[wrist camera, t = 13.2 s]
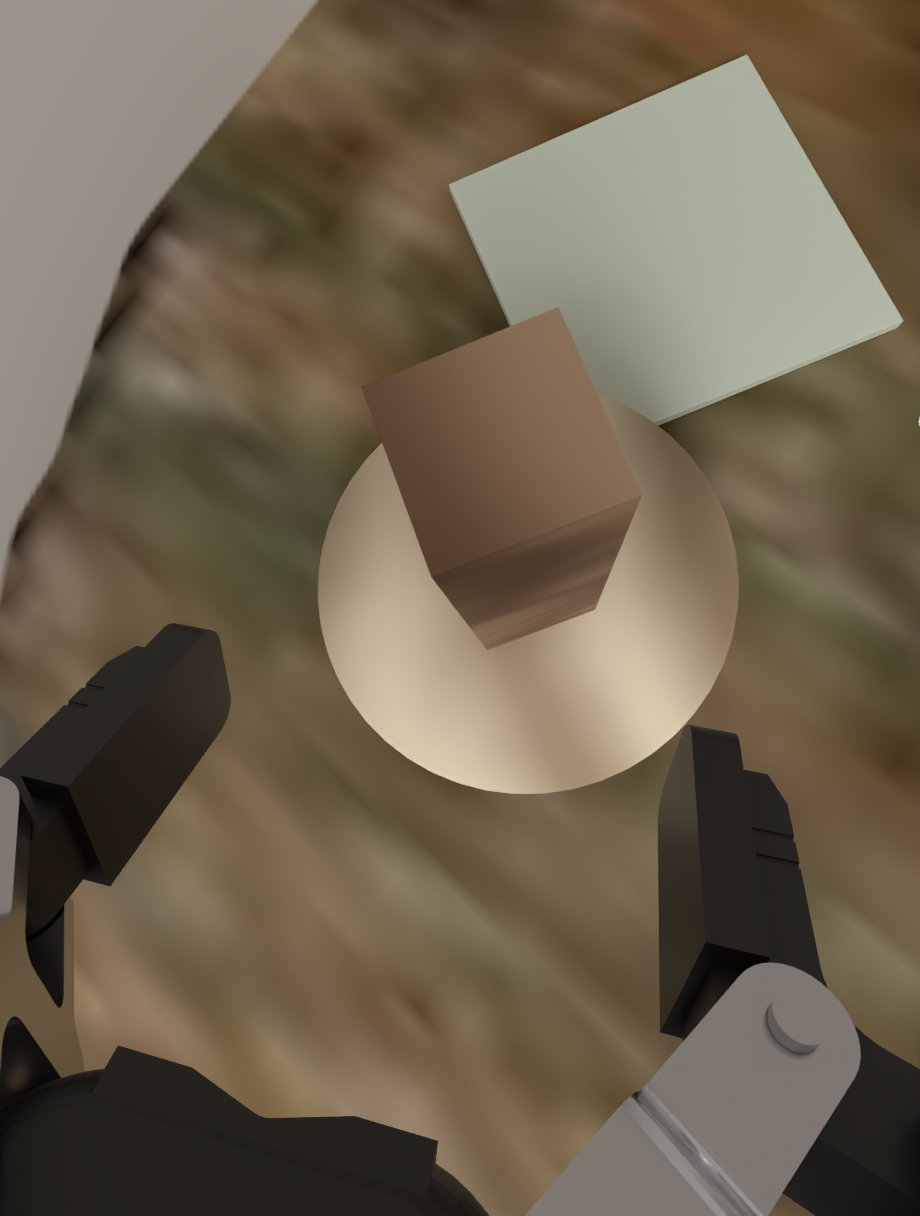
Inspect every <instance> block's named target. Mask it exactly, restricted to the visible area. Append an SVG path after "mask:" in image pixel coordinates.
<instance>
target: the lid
mask: <svg viewBox="0 0 920 1216" xmlns="http://www.w3.org/2000/svg"><path fill="white" fill-rule="evenodd" d="M362 389H363V392H364V395H365V397H366V400H367V403H368V405H369V408H370V411H371V414H372V416H373V419H374V422H375V425H376V427H377V430H378V433H379V436H380V438H381V441H382V443H381V444H380V445H379V446H378V447H377V448H376V449H375V450H374V452H373V453H372V454H371V455H370V456H369V457H368V458H367V459H366V460H365V462H364V463H363V464H362V466H361V467H360V468H359V470H358V471H357V472H356V474H355V475H354V476H353V478H352V479H351V481H350V482H349V484H348V486H347V488H346V489H345V491H344V493H343V495H342V496H341V498H340V500H339V502H338V504H337V507H336V509H335V511H334V514H333V516H332V519H331V521H330V523H329V526H328V530H327V533H326V537H325V541H324V544H323V548H322V553H321V560H320V567H319V574H318V605H319V614H320V622H321V629H322V633H323V637H324V641H325V645H326V649H327V652H328V655H329V657H330V660H331V662H332V665H333V667H334V670H335V672H336V675H337V677H338V679H339V681H340V683H341V684H342V686H343V688H344V690H345V692H346V693H347V695H348V697H349V699H350V700H351V702H352V703H353V704H354V706H355V707H356V708H357V710H358V711H359V712H360V714H361V715H362V716H363V718H364V719H365V720H366V722H367V723H368V724H369V725H370V726H371V727H372V728H373V729H374V730H375V731H376V732H377V733H378V734H379V735H380V736H381V737H382V738H383V739H384V740H385V741H386V742H387V743H389V744H390V745H391V746H392V747H394V748H395V749H396V750H398V751H399V752H400V753H402V754H403V755H404V756H405V757H407V758H408V759H410V760H412V761H413V762H415V763H417V764H418V765H420V766H422V767H424V768H425V769H427V770H429V771H431V772H432V773H435V774H437V775H440V776H442V777H445V778H447V779H449V780H452V781H454V782H457V783H460V784H464V785H467V786H471V787H475V788H479V789H483V790H487V791H495V792H503V793H512V794H542V793H550V792H557V791H564V790H570V789H575V788H578V787H582V786H585V785H589V784H592V783H595V782H599V781H602V780H604V779H606V778H608V777H611V776H613V775H615V774H617V773H620V772H622V771H624V770H626V769H628V768H630V767H632V766H633V765H635V764H636V763H638V762H640V761H641V760H643V759H644V758H646V757H648V756H649V755H651V754H652V753H654V752H655V751H656V750H657V749H658V748H660V747H661V746H662V745H663V744H665V743H666V742H667V741H668V740H669V739H671V738H672V737H673V736H674V735H675V734H676V733H677V732H678V731H679V730H680V729H681V728H682V727H683V725H684V724H685V723H686V722H687V721H688V720H689V719H690V718H691V717H692V716H693V715H694V713H695V712H696V710H697V709H698V708H699V706H700V705H701V703H702V702H703V700H704V699H705V697H706V696H707V694H708V693H709V692H710V690H711V688H712V686H713V684H714V682H715V680H716V678H717V676H718V674H719V672H720V670H721V668H722V666H723V664H724V661H725V658H726V655H727V652H728V649H729V646H730V643H731V640H732V637H733V632H734V627H735V621H736V616H737V611H738V592H739V577H738V566H737V556H736V550H735V546H734V542H733V538H732V534H731V529H730V526H729V523H728V521H727V518H726V516H725V513H724V511H723V508H722V505H721V503H720V501H719V499H718V497H717V495H716V493H715V492H714V490H713V488H712V486H711V484H710V483H709V481H708V479H707V477H706V476H705V475H704V473H703V472H702V471H701V469H700V468H699V467H698V465H697V464H696V463H695V461H694V460H693V459H692V457H691V456H690V455H689V454H688V453H687V452H686V451H685V450H684V449H683V448H682V447H681V446H680V445H679V444H678V443H677V442H676V441H675V440H674V439H673V438H672V437H671V436H670V435H669V434H668V433H666V432H665V431H664V430H662V429H661V428H660V427H659V426H657V425H656V424H655V423H654V422H652V421H651V420H649V419H648V418H646V417H644V416H643V415H641V414H639V413H638V412H636V411H634V410H633V409H631V408H629V407H628V406H625V405H623V404H621V403H618V402H616V401H614V400H611V399H609V398H607V397H605V396H602V395H598V394H597V393H596V390H595V388H594V386H593V384H592V381H591V379H590V377H589V375H588V372H587V370H586V368H585V366H584V363H583V361H582V359H581V357H580V354H579V352H578V350H577V348H576V345H575V343H574V341H573V339H572V336H571V334H570V332H569V330H568V328H567V325H566V323H565V321H564V319H563V316H562V314H561V312H560V310H559V307H557V308H554V309H552V310H549V311H547V312H545V313H542V314H540V315H537V316H535V317H532V318H530V319H527V320H525V321H522V322H520V323H517V324H515V325H513V326H510V327H508V328H505V329H503V330H500V331H498V332H495V333H493V334H490V335H488V336H485V337H483V338H481V339H478V340H476V341H473V342H471V343H468V344H466V345H463V346H461V347H458V348H456V349H453V350H451V351H449V352H446V353H444V354H441V355H439V356H436V357H434V358H431V359H429V360H426V361H424V362H422V363H419V364H417V365H414V366H412V367H409V368H407V369H404V370H402V371H399V372H397V373H394V374H392V375H390V376H387V377H385V378H382V379H380V380H377V381H375V382H372V383H370V384H367V385H365V386H362Z"/></svg>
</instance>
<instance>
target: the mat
mask: <svg viewBox="0 0 920 1216" xmlns="http://www.w3.org/2000/svg"><path fill="white" fill-rule="evenodd" d="M449 188H450V193H451V196H452V198H453V200H454V202H455V205H456V207H457V209H458V211H459V214H460V216H461V218H462V220H463V223H464V225H465V227H466V229H467V232H468V234H469V236H470V238H471V241H472V243H473V245H474V247H475V250H476V252H477V254H478V256H479V259H480V261H481V263H482V265H483V268H484V270H485V272H486V274H487V276H488V279H489V281H490V283H491V285H492V288H493V290H494V292H495V294H496V297H497V299H498V301H499V303H500V306H501V308H502V310H503V312H504V315H505V317H506V319H507V321H508V324H509V326H513V325H515V324H517V323H520V322H522V321H525V320H527V319H530V318H532V317H535V316H537V315H540V314H542V313H545V312H547V311H549V310H552V309H554V308H557V307H559V310H560V312H561V314H562V316H563V319H564V321H565V323H566V325H567V328H568V330H569V332H570V334H571V336H572V339H573V341H574V343H575V345H576V348H577V350H578V352H579V354H580V357H581V359H582V361H583V363H584V366H585V368H586V370H587V372H588V375H589V377H590V379H591V381H592V384H593V386H594V388H595V390H596V393H597V394H598V395H602V396H605V397H607V398H609V399H611V400H614V401H616V402H618V403H621V404H623V405H625V406H628V407H629V408H631V409H633V410H634V411H636V412H638V413H639V414H641V415H643V416H644V417H646V418H648V419H649V420H651V421H652V422H654V423H655V424H656V425H657V426H659V425H661V424H664V423H666V422H669V421H671V420H674V419H676V418H678V417H681V416H683V415H686V414H688V413H691V412H693V411H696V410H698V409H700V408H703V407H705V406H708V405H710V404H713V403H715V402H718V401H720V400H722V399H725V398H727V397H730V396H732V395H735V394H737V393H740V392H742V391H744V390H747V389H749V388H752V387H754V386H757V385H759V384H762V383H764V382H766V381H769V380H771V379H774V378H776V377H779V376H781V375H784V374H786V373H788V372H791V371H793V370H796V369H798V368H801V367H803V366H806V365H808V364H810V363H813V362H815V361H818V360H820V359H823V358H825V357H828V356H830V355H832V354H835V353H837V352H840V351H842V350H845V349H847V348H850V347H852V346H854V345H857V344H859V343H862V342H864V341H867V340H869V339H872V338H874V337H876V336H879V335H881V334H884V333H886V332H889V331H891V330H894V329H896V328H898V326H899V325H900V324H901V323H902V322H903V319H902V318H901V316H900V314H899V312H898V311H897V309H896V307H895V306H894V304H893V302H892V301H891V299H890V297H889V295H888V294H887V292H886V290H885V289H884V287H883V285H882V284H881V282H880V280H879V278H878V277H877V275H876V273H875V272H874V270H873V268H872V267H871V265H870V263H869V261H868V260H867V258H866V256H865V255H864V253H863V251H862V250H861V248H860V246H859V244H858V243H857V241H856V239H855V238H854V236H853V234H852V232H851V231H850V229H849V227H848V226H847V224H846V222H845V221H844V219H843V217H842V215H841V214H840V212H839V210H838V209H837V207H836V205H835V204H834V202H833V200H832V198H831V197H830V195H829V193H828V192H827V190H826V188H825V187H824V185H823V183H822V181H821V180H820V178H819V176H818V175H817V173H816V171H815V170H814V168H813V166H812V164H811V163H810V161H809V159H808V158H807V156H806V154H805V153H804V151H803V149H802V147H801V146H800V144H799V142H798V141H797V139H796V137H795V136H794V134H793V132H792V130H791V129H790V127H789V125H788V124H787V122H786V120H785V119H784V117H783V115H782V113H781V112H780V110H779V108H778V107H777V105H776V103H775V102H774V100H773V98H772V96H771V95H770V93H769V91H768V90H767V88H766V86H765V85H764V83H763V81H762V79H761V78H760V76H759V74H758V73H757V71H756V69H755V68H754V66H753V64H752V62H751V61H750V59H749V57H748V56H747V55H745V56H742V57H740V58H738V59H736V60H733V61H731V62H729V63H726V64H724V65H722V66H720V67H717V68H715V69H713V70H710V71H708V72H706V73H703V74H701V75H699V76H697V77H694V78H692V79H690V80H687V81H685V82H683V83H681V84H678V85H676V86H674V87H671V88H669V89H667V90H664V91H662V92H660V93H658V94H655V95H653V96H651V97H648V98H646V99H644V100H642V101H639V102H637V103H635V104H632V105H630V106H628V107H625V108H623V109H621V110H619V111H616V112H614V113H612V114H609V115H607V116H605V117H603V118H600V119H598V120H596V121H593V122H591V123H589V124H586V125H584V126H582V127H580V128H577V129H575V130H573V131H570V132H568V133H566V134H564V135H561V136H559V137H557V138H554V139H552V140H550V141H547V142H545V143H543V144H541V145H538V146H536V147H534V148H531V149H529V150H527V151H525V152H522V153H520V154H518V155H515V156H513V157H511V158H508V159H506V160H504V161H502V162H499V163H497V164H495V165H492V166H490V167H488V168H485V169H483V170H481V171H479V172H476V173H474V174H472V175H469V176H467V177H465V178H463V179H460V180H458V181H456V182H453V183H451V184H449Z"/></svg>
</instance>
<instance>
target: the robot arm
mask: <svg viewBox="0 0 920 1216" xmlns="http://www.w3.org/2000/svg"><path fill="white" fill-rule="evenodd" d="M230 701H231V698H230V690H229V685H228V680H227V674H226V669H225V664H224V659H223V653H222V648H221V643H220V639H219V636H218V635H217V633H216V632H214V631H212V630H206V629H201V628H196V627H191V626H186V625H181V624H176V623H172V624H169V625H167V626H165V627H164V628H163V629H162V630H161V631H160V632H159V633H158V634H157V635H156V636H155V637H154V638H153V639H152V640H151V642H150V643H149V644H148V645H147V646H146V647H140V646H136V647H134V648H132V649H131V650H129V651H127V652H125V653H123V654H122V655H120V656H118V657H116V658H114V659H113V660H111V661H109V662H107V663H106V664H105V665H104V666H103V667H102V668H101V669H100V670H99V671H98V672H97V673H96V674H95V675H94V676H93V677H92V678H91V679H90V680H89V681H88V682H87V683H86V687H85V688H81V689H80V690H79V691H78V692H77V693H76V694H75V695H74V696H73V697H72V698H71V699H70V700H69V704H68V705H67V706H65V705H64V706H63V707H62V708H61V709H60V710H59V711H58V712H57V713H56V714H55V715H54V716H53V717H52V718H51V719H50V720H49V721H48V722H47V723H46V724H45V725H44V726H43V727H42V728H41V729H40V730H39V731H38V732H37V733H36V734H35V735H34V736H33V737H32V738H31V739H29V740H28V741H27V742H26V743H25V744H24V745H23V746H22V747H21V748H20V749H19V750H18V751H17V752H16V753H15V754H14V755H13V756H12V757H11V758H10V759H9V760H8V761H7V762H6V763H5V764H4V765H3V766H2V767H1V768H0V1216H489V1215H488V1213H487V1212H486V1211H485V1210H484V1208H483V1207H482V1206H481V1205H480V1203H479V1202H478V1201H477V1200H476V1199H475V1197H474V1196H473V1195H472V1194H471V1192H469V1191H468V1190H467V1189H466V1188H465V1187H464V1186H463V1185H462V1184H461V1183H460V1182H459V1181H458V1180H457V1179H456V1178H455V1177H454V1176H452V1175H451V1174H450V1173H448V1172H447V1171H445V1170H444V1169H443V1168H441V1167H440V1166H438V1165H437V1164H436V1154H437V1144H438V1141H436V1140H433V1139H430V1138H426V1137H423V1136H420V1135H416V1134H413V1133H409V1132H406V1131H403V1130H399V1129H396V1128H393V1127H389V1126H386V1125H383V1124H379V1123H376V1122H373V1121H369V1120H366V1119H362V1118H359V1117H356V1116H343V1117H301V1118H264V1117H261V1116H258V1115H257V1114H255V1113H253V1112H252V1111H251V1110H249V1109H248V1108H247V1107H245V1106H244V1105H242V1104H241V1103H240V1102H238V1101H237V1100H236V1099H234V1098H233V1097H232V1096H230V1095H229V1094H227V1093H226V1092H225V1091H223V1090H222V1089H221V1088H219V1087H218V1086H217V1085H215V1084H214V1083H212V1082H211V1081H210V1080H208V1079H207V1078H206V1077H204V1076H203V1075H202V1074H200V1073H199V1072H197V1071H196V1070H195V1069H193V1068H191V1067H188V1066H185V1065H181V1064H178V1063H175V1062H171V1061H168V1060H165V1059H161V1058H158V1057H155V1056H151V1055H148V1054H144V1053H141V1052H138V1051H134V1050H131V1049H128V1048H124V1047H121V1046H118V1047H117V1048H116V1050H115V1052H114V1054H113V1055H112V1057H111V1059H110V1060H109V1062H108V1064H107V1066H106V1067H105V1069H98V1070H92V1071H86V1072H84V1064H83V1058H82V1052H81V1048H80V1044H79V1040H78V1037H77V1033H76V1027H75V1020H74V931H73V901H72V899H71V895H72V893H73V892H74V891H75V889H76V888H77V887H78V885H79V884H80V883H81V881H82V880H83V879H84V880H88V881H92V882H95V883H99V884H103V885H107V886H111V885H112V883H113V882H114V880H115V879H116V877H117V876H118V875H119V873H120V872H121V870H122V869H123V868H124V866H125V865H126V863H127V862H128V861H129V859H130V858H131V856H132V855H133V854H134V852H135V851H136V849H137V848H138V847H139V845H140V844H141V842H142V841H143V839H144V838H145V837H146V835H147V834H148V832H149V831H150V830H151V828H152V827H153V825H154V824H155V823H156V821H157V820H158V818H159V817H160V816H161V814H162V813H163V811H164V810H165V809H166V807H167V806H168V804H169V803H170V801H171V800H172V799H173V797H174V796H175V794H176V793H177V792H178V790H179V789H180V787H181V786H182V785H183V783H184V782H185V780H186V779H187V778H188V776H189V775H190V773H191V772H192V770H193V769H194V768H195V766H196V765H197V763H198V762H199V761H200V759H201V758H202V756H203V755H204V754H205V752H206V751H207V749H208V748H209V747H210V745H211V744H212V742H213V741H214V740H215V738H216V737H217V735H218V734H219V732H220V731H221V729H222V728H223V726H224V724H225V722H226V720H227V717H228V713H229V709H230ZM793 837H794V834H793V829H792V824H791V819H790V814H789V809H788V804H787V803H786V801H785V800H784V798H783V797H782V795H781V794H780V792H779V791H778V789H777V788H776V786H775V785H774V783H773V782H772V780H771V779H770V777H769V776H768V775H767V774H762V773H757V772H752V771H747V770H743V763H742V756H741V749H740V743H739V739H738V736H737V735H736V734H734V733H729V732H724V731H719V730H714V729H709V728H703V727H698V726H693V725H686V727H685V728H684V730H683V733H682V735H681V738H680V741H679V744H678V747H677V750H676V753H675V756H674V758H673V761H672V764H671V767H670V770H669V773H668V776H667V779H666V781H665V784H664V787H663V791H662V795H661V800H660V807H659V815H658V882H659V977H660V1033H664V1034H668V1035H672V1036H676V1037H679V1038H683V1043H682V1044H681V1045H680V1046H679V1047H678V1048H677V1050H676V1051H675V1052H674V1053H673V1054H672V1055H671V1057H670V1058H669V1059H668V1060H667V1061H666V1062H665V1064H664V1065H663V1066H662V1067H661V1068H660V1069H659V1071H658V1072H657V1073H656V1074H655V1075H654V1076H653V1078H652V1079H651V1080H650V1081H649V1082H648V1083H647V1084H646V1085H645V1086H644V1087H643V1088H642V1089H641V1090H640V1091H639V1092H635V1093H634V1094H632V1095H631V1096H630V1097H629V1098H628V1099H627V1100H626V1101H625V1102H624V1103H623V1104H622V1105H621V1106H620V1107H619V1108H618V1109H617V1110H616V1112H615V1113H614V1114H613V1115H612V1116H611V1117H610V1118H609V1119H608V1121H607V1122H606V1123H605V1124H604V1125H603V1126H602V1128H601V1129H600V1130H599V1131H598V1132H597V1133H596V1135H595V1136H594V1137H593V1138H592V1139H591V1140H590V1141H589V1143H588V1144H587V1145H586V1146H585V1147H584V1148H583V1150H582V1151H581V1152H580V1153H579V1154H578V1155H577V1156H576V1158H575V1159H574V1160H573V1161H572V1162H571V1163H570V1165H569V1166H568V1167H567V1168H566V1169H565V1170H564V1171H563V1173H562V1174H561V1175H560V1176H559V1177H558V1178H557V1180H556V1181H555V1182H554V1183H553V1184H552V1185H551V1187H550V1188H549V1189H548V1190H547V1191H546V1192H545V1193H544V1195H543V1196H542V1197H541V1198H540V1199H539V1200H538V1202H537V1203H536V1204H535V1205H534V1206H533V1207H532V1208H531V1210H530V1211H529V1212H528V1213H527V1214H526V1215H525V1216H768V1215H769V1213H770V1211H771V1210H772V1208H773V1207H774V1205H775V1203H776V1202H777V1200H778V1199H779V1197H780V1195H781V1194H782V1193H783V1194H784V1195H786V1196H787V1197H789V1198H790V1199H792V1200H793V1201H795V1202H796V1203H797V1204H799V1205H800V1206H802V1207H803V1208H805V1209H806V1210H808V1211H809V1212H811V1213H812V1214H814V1215H815V1216H920V1069H918V1068H917V1067H915V1066H913V1065H911V1064H910V1063H908V1062H906V1061H904V1060H903V1059H901V1058H899V1057H897V1056H895V1055H894V1054H892V1053H890V1052H888V1051H887V1050H885V1049H884V1048H882V1047H881V1046H879V1045H877V1044H876V1043H875V1042H873V1041H872V1040H871V1039H869V1038H868V1037H867V1036H866V1035H864V1034H863V1033H862V1032H861V1031H860V1030H859V1029H858V1028H857V1027H856V1026H855V1025H854V1024H853V1022H852V1020H851V1018H850V1016H849V1014H848V1013H847V1011H846V1010H845V1008H844V1007H843V1005H842V1004H841V1003H840V1001H839V1000H838V999H837V998H836V997H835V996H834V994H833V993H832V992H831V991H830V990H828V988H827V985H826V983H825V981H824V978H823V975H822V971H821V968H820V963H819V958H818V953H817V948H816V943H815V938H814V933H813V928H812V923H811V918H810V913H809V908H808V903H807V898H806V893H805V888H804V883H803V879H802V874H801V869H799V868H798V864H799V859H798V854H797V849H796V844H795V842H793Z"/></svg>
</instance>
